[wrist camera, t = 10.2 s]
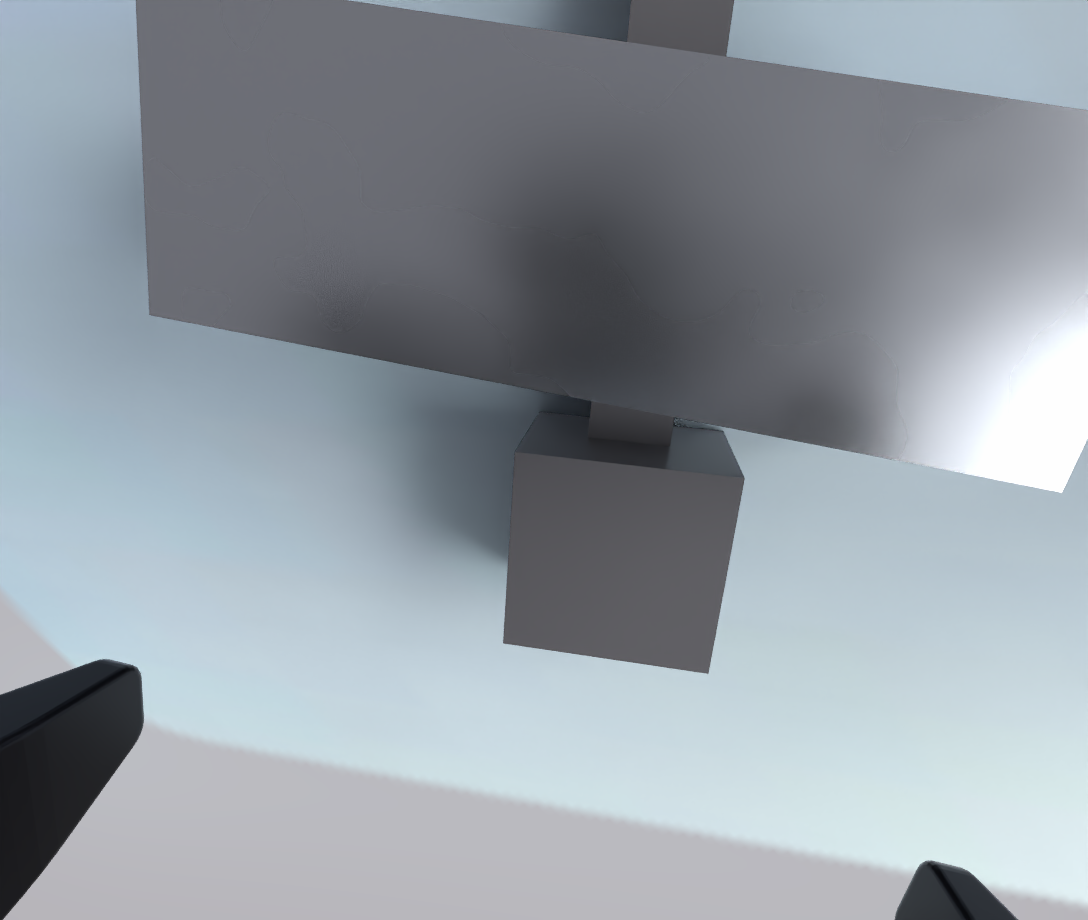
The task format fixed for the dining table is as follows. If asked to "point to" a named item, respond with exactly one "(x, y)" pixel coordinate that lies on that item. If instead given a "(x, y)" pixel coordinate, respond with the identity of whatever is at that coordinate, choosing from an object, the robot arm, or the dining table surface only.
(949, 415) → the plate
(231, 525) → the dining table surface
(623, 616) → the plug
